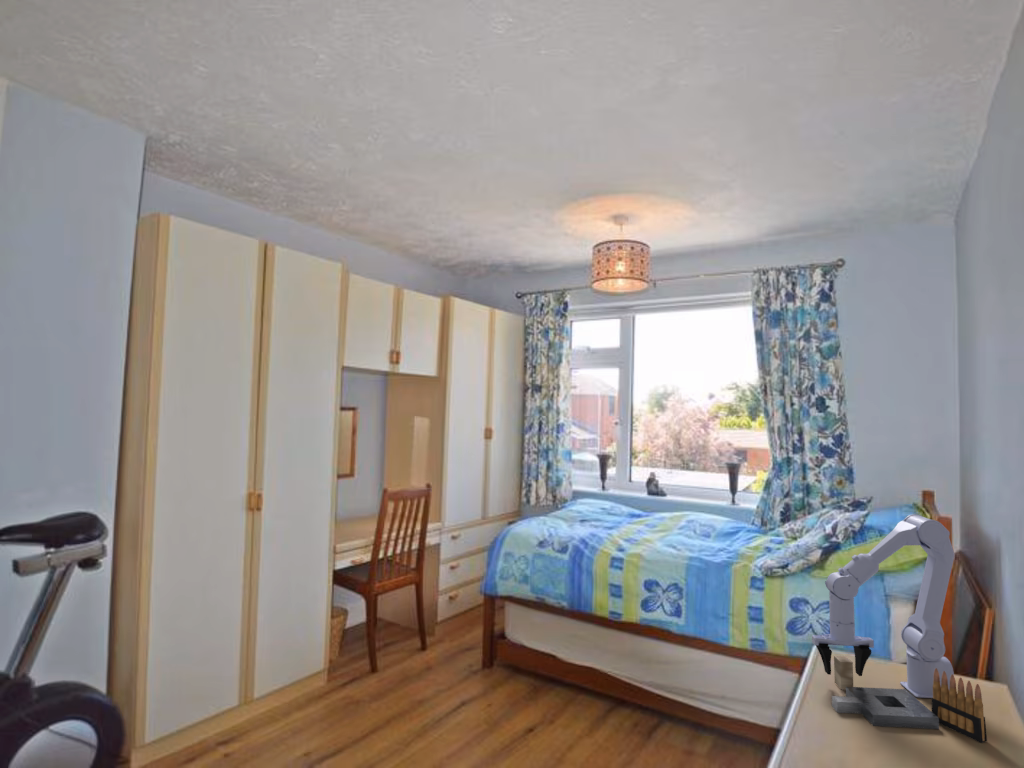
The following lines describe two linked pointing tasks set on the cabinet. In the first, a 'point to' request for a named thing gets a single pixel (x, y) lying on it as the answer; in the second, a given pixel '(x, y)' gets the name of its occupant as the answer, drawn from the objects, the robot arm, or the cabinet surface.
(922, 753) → the cabinet surface
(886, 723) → the steel bracket head
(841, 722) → the cabinet surface
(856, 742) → the cabinet surface
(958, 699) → the ammunition clip
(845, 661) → the oak wedge
